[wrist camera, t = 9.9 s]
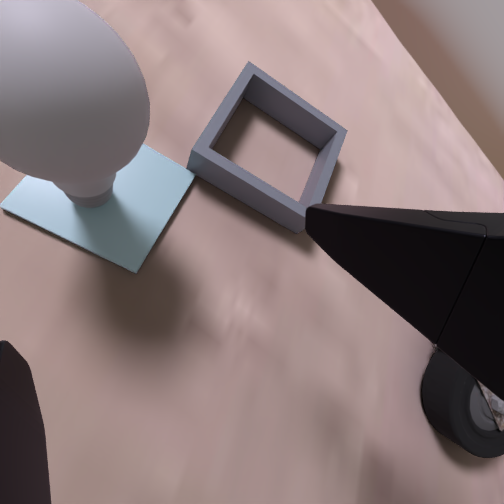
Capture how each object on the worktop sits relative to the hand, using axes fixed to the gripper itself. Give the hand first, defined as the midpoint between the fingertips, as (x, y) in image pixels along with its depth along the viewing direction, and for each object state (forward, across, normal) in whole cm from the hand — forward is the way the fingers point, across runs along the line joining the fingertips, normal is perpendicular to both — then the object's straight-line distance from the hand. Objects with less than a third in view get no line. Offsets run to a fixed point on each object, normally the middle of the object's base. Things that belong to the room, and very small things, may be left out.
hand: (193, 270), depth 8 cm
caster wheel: (-4, -19, +19) cm, 27 cm away
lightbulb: (+13, +1, +2) cm, 13 cm away
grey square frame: (+12, -12, +2) cm, 17 cm away
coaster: (+13, 0, +2) cm, 13 cm away
